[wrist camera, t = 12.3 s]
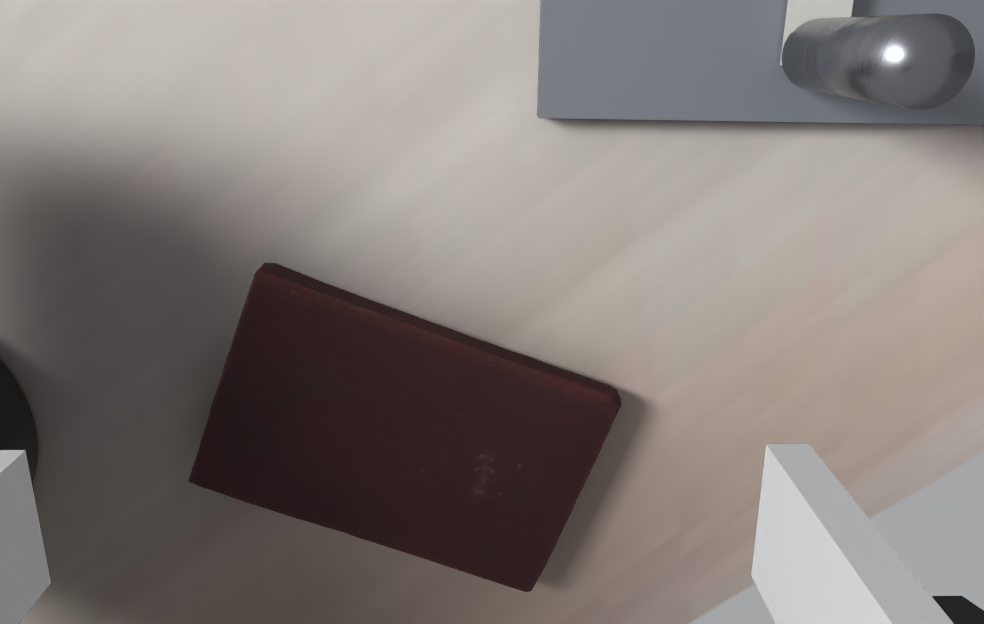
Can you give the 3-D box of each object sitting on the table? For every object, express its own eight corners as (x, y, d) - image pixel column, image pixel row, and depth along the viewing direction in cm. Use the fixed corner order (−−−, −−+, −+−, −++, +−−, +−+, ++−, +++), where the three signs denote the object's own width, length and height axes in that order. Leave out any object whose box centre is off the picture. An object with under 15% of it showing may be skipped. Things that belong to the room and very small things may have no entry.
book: (270, 253, 43) (252, 270, 40) (617, 380, 45) (626, 406, 42) (205, 457, 47) (185, 488, 44) (529, 566, 49) (531, 602, 46)
